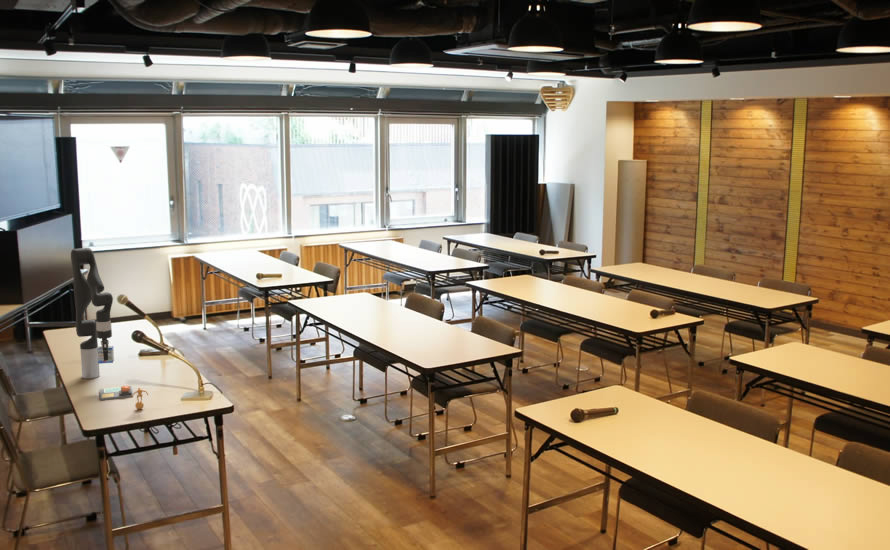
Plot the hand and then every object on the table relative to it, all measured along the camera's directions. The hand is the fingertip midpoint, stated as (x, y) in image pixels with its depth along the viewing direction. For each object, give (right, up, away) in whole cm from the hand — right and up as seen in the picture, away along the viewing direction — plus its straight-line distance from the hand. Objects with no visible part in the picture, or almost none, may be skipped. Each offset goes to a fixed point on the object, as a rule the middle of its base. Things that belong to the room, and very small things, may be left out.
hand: (105, 358), depth 428 cm
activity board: (+9, -18, -8) cm, 22 cm away
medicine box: (0, -2, 0) cm, 2 cm away
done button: (+15, -16, -10) cm, 24 cm away
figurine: (+31, -23, -32) cm, 50 cm away
